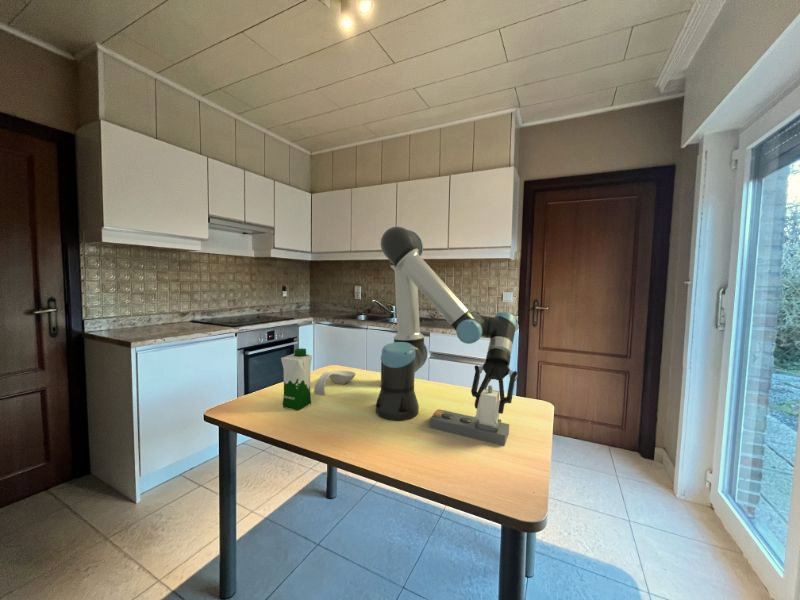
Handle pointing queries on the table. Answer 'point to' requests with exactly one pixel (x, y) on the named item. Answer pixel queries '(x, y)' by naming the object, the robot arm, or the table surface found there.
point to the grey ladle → (333, 379)
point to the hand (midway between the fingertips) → (486, 420)
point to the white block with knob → (488, 406)
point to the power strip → (469, 427)
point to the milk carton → (296, 380)
